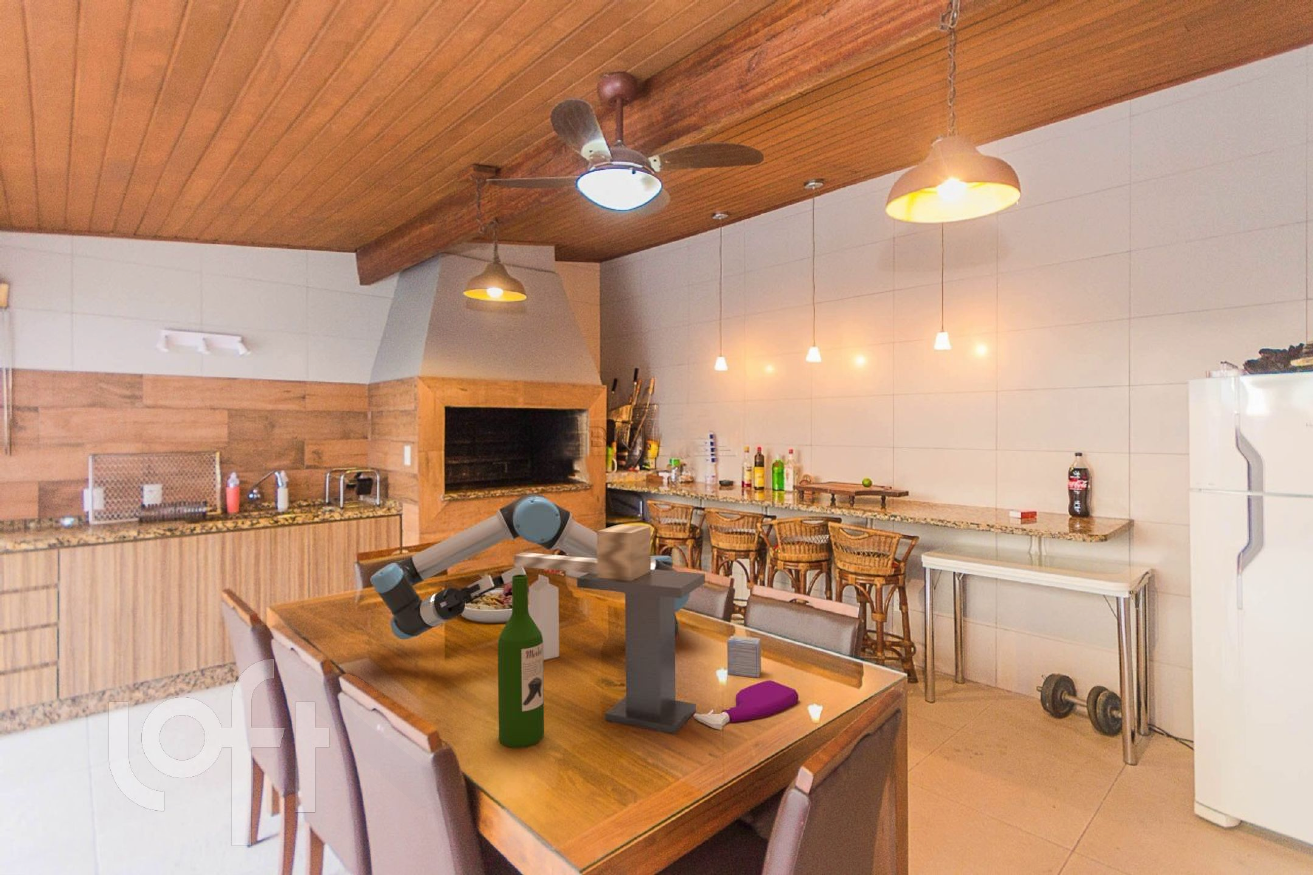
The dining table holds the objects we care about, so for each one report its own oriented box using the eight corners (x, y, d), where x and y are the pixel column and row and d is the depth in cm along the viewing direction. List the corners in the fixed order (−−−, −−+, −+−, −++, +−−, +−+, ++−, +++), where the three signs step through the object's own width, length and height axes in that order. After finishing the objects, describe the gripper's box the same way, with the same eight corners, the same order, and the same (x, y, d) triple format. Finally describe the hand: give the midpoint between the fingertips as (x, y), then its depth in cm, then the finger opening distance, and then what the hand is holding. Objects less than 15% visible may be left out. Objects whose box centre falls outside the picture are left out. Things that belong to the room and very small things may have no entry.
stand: (578, 717, 139) (576, 577, 139) (609, 693, 152) (608, 565, 152) (682, 738, 129) (680, 588, 129) (706, 710, 142) (704, 573, 142)
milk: (539, 661, 173) (538, 579, 173) (529, 655, 178) (528, 575, 178) (559, 656, 177) (558, 576, 177) (549, 650, 182) (548, 572, 182)
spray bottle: (803, 704, 146) (724, 739, 130) (766, 689, 154) (688, 721, 139) (802, 691, 146) (724, 725, 130) (766, 677, 154) (688, 707, 139)
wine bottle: (522, 752, 124) (520, 583, 124) (489, 740, 129) (487, 577, 129) (553, 733, 132) (551, 574, 132) (520, 723, 137) (519, 569, 136)
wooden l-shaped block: (506, 568, 149) (505, 525, 149) (531, 560, 158) (531, 519, 158) (630, 580, 136) (630, 533, 136) (650, 571, 145) (650, 526, 145)
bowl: (538, 625, 206) (538, 601, 206) (444, 626, 206) (444, 601, 206) (553, 601, 236) (553, 579, 236) (471, 601, 236) (471, 580, 236)
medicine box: (761, 672, 165) (761, 638, 164) (758, 678, 160) (758, 643, 160) (730, 668, 167) (730, 635, 167) (727, 674, 163) (726, 640, 163)
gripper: (479, 607, 175) (540, 578, 168) (414, 634, 152) (482, 601, 145) (469, 581, 176) (529, 551, 169) (402, 604, 153) (470, 570, 146)
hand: (508, 574), depth 157 cm, fingers open, 13 cm apart
